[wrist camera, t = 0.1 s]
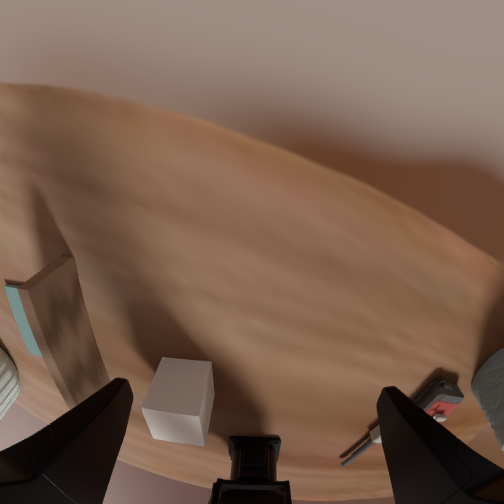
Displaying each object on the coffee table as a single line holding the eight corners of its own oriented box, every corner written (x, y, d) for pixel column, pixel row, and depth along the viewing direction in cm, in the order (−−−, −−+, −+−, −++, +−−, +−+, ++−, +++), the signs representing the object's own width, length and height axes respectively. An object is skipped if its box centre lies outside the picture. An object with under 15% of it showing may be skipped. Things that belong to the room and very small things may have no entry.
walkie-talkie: (427, 368, 27) (335, 457, 34) (441, 393, 23) (339, 480, 30) (464, 377, 28) (377, 459, 35) (478, 398, 24) (383, 480, 31)
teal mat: (87, 366, 28) (84, 369, 28) (31, 350, 29) (29, 353, 28) (62, 292, 25) (59, 294, 24) (7, 284, 25) (4, 286, 25)
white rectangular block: (214, 394, 28) (205, 446, 22) (170, 389, 29) (153, 438, 22) (211, 361, 27) (198, 416, 20) (162, 356, 27) (140, 407, 20)
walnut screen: (123, 412, 31) (106, 452, 24) (113, 410, 31) (95, 449, 25) (73, 256, 23) (28, 290, 17) (62, 256, 23) (16, 288, 17)
